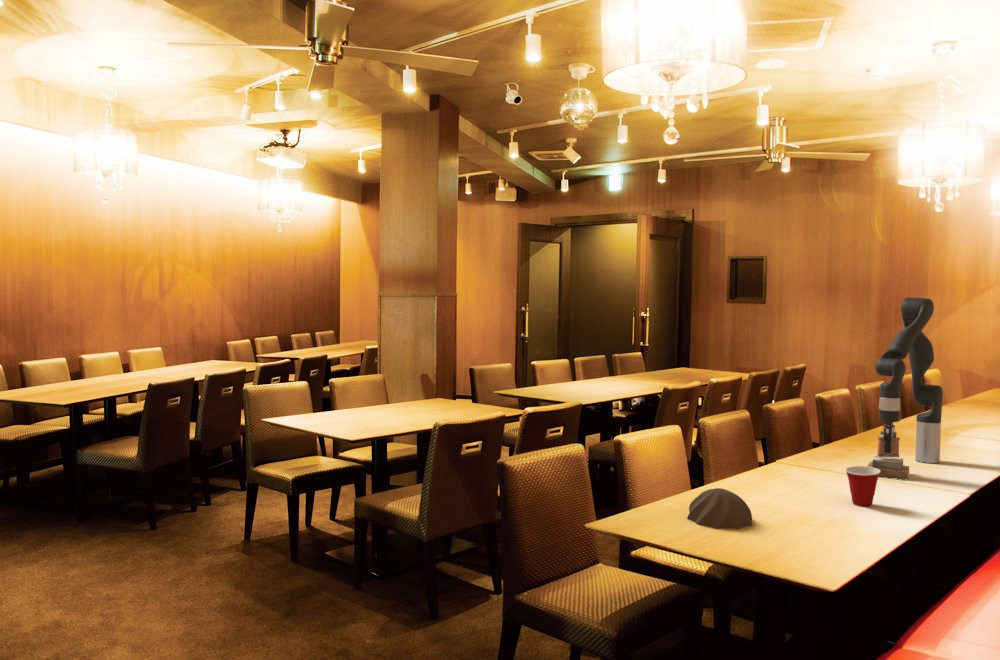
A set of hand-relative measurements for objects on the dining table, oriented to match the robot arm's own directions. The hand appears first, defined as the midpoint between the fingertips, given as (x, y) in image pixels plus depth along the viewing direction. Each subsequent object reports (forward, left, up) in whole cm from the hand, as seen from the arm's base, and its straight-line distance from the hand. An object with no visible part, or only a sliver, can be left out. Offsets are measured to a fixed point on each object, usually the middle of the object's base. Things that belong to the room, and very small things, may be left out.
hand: (888, 451), depth 295 cm
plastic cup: (+56, -3, -9) cm, 57 cm away
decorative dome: (+101, -38, -10) cm, 108 cm away
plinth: (0, 0, -9) cm, 9 cm away
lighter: (0, 0, -2) cm, 2 cm away
